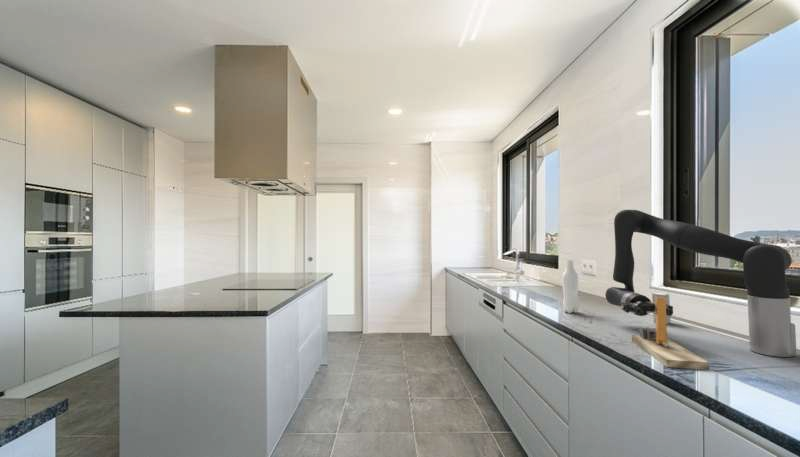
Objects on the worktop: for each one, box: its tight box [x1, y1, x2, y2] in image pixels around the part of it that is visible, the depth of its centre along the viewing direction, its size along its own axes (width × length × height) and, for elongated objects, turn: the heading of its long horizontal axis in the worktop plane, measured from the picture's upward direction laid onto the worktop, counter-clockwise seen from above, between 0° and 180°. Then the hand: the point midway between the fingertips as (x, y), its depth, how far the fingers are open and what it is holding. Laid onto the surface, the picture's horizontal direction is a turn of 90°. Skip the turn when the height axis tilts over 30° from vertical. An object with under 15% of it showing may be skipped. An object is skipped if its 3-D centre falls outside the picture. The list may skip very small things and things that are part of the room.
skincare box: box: [651, 292, 672, 324], centre depth 152 cm, size 6×4×12 cm
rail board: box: [631, 335, 710, 370], centre depth 112 cm, size 10×26×2 cm, turn 166°
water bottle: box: [561, 259, 580, 314], centre depth 175 cm, size 7×7×25 cm
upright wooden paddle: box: [647, 297, 670, 348], centre depth 116 cm, size 4×10×15 cm, turn 166°
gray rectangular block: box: [639, 327, 656, 340], centre depth 121 cm, size 6×6×3 cm
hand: (655, 312), depth 119 cm, fingers open, 8 cm apart
